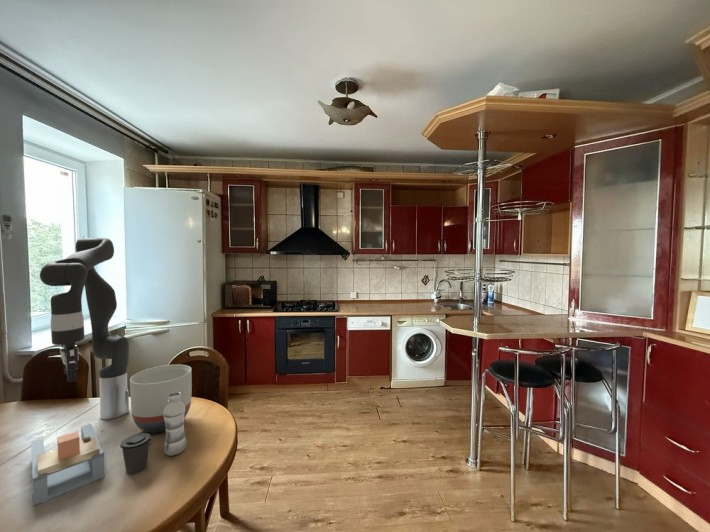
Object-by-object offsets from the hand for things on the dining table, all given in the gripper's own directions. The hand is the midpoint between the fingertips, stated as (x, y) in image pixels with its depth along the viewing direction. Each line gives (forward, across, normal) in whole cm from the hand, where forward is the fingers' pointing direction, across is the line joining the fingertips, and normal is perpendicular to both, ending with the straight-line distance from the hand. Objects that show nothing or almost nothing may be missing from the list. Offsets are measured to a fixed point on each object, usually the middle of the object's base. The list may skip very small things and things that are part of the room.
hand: (70, 377), depth 97 cm
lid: (+22, -8, +2) cm, 23 cm away
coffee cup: (+29, -17, -12) cm, 36 cm away
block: (+20, -9, +2) cm, 22 cm away
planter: (+30, +4, -26) cm, 40 cm away
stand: (+29, 0, +2) cm, 29 cm away
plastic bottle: (+29, -17, -24) cm, 41 cm away
